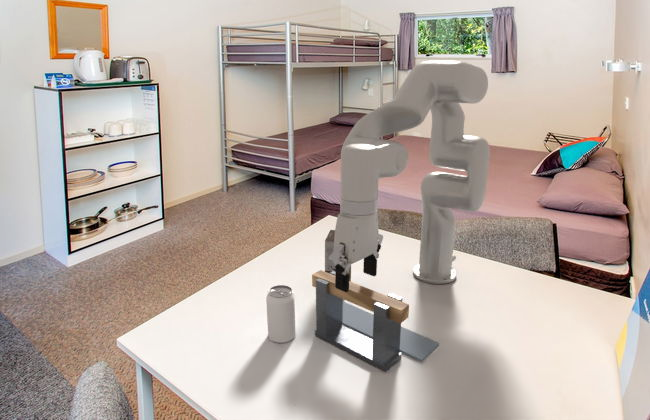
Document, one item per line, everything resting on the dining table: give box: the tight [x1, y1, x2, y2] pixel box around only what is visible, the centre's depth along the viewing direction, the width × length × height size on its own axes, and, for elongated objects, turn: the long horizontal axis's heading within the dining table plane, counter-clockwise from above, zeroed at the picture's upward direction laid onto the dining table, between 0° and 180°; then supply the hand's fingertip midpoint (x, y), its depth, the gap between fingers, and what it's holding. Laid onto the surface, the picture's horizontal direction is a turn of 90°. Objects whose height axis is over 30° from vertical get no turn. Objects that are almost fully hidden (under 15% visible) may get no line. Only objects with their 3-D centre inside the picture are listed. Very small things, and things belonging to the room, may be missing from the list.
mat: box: [342, 301, 441, 363], centre depth 109 cm, size 8×28×1 cm, turn 48°
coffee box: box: [324, 229, 352, 282], centre depth 127 cm, size 9×6×16 cm
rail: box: [311, 269, 410, 325], centre depth 98 cm, size 3×24×3 cm, turn 48°
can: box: [265, 284, 297, 344], centre depth 105 cm, size 6×6×12 cm
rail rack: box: [314, 271, 403, 374], centre depth 100 cm, size 6×20×15 cm, turn 48°
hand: (356, 281), depth 97 cm, fingers open, 9 cm apart
